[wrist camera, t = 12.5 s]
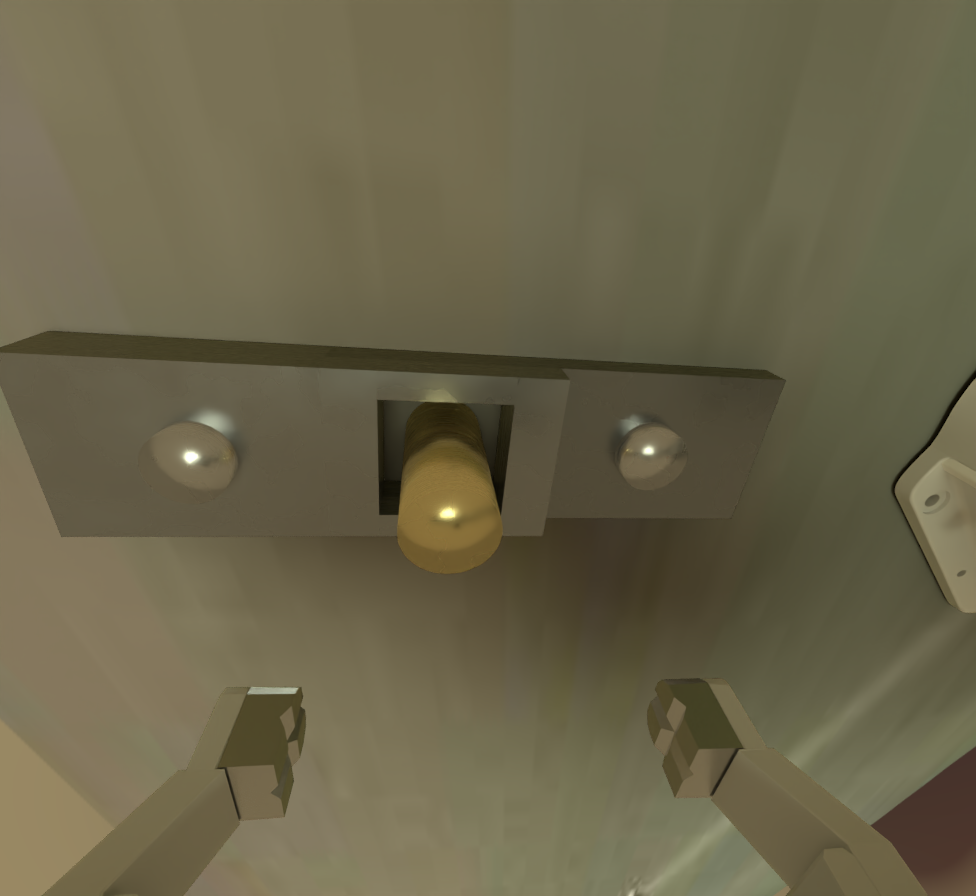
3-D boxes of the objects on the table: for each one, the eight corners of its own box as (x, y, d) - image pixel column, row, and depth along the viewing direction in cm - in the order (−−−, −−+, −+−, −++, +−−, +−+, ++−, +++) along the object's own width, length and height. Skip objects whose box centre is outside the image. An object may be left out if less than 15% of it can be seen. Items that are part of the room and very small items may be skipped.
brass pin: (492, 441, 24) (520, 543, 17) (431, 476, 24) (434, 588, 17) (454, 384, 22) (468, 470, 15) (390, 422, 23) (375, 522, 16)
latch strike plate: (765, 370, 24) (825, 399, 20) (716, 503, 27) (759, 548, 24) (47, 330, 19) (-39, 360, 15) (103, 497, 23) (44, 552, 19)
